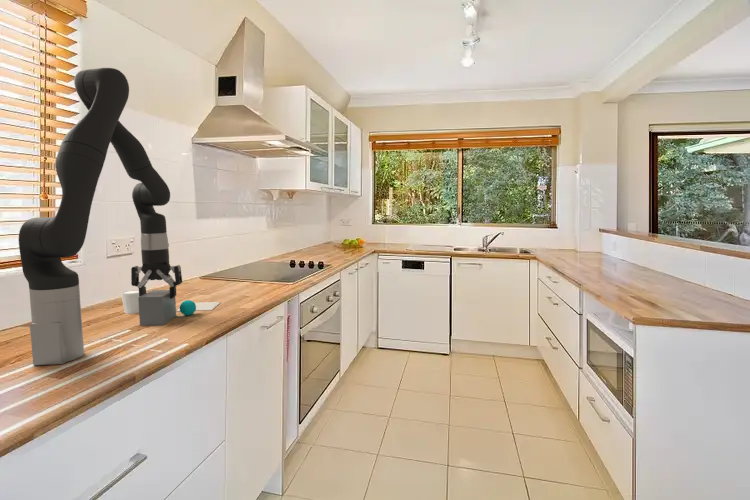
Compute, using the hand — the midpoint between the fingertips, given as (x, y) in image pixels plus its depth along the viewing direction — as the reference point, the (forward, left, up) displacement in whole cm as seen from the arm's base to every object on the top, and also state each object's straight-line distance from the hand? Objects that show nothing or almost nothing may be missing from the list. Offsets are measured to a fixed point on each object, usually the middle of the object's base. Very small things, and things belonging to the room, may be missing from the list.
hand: (158, 298), depth 130 cm
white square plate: (+18, -7, -7) cm, 20 cm away
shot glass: (+13, +13, -7) cm, 19 cm away
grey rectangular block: (0, 0, -7) cm, 7 cm away
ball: (+6, -7, -5) cm, 10 cm away
